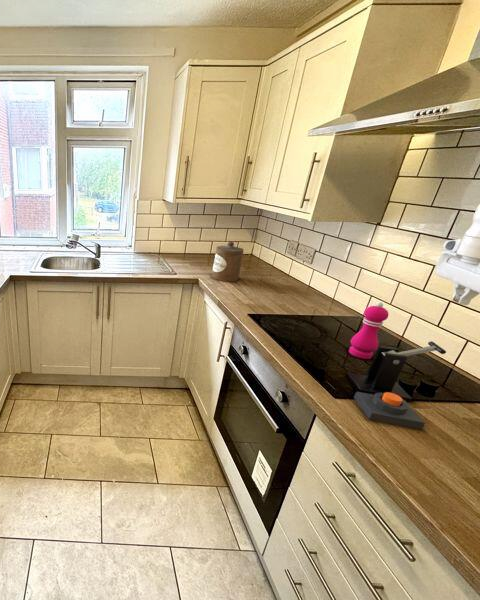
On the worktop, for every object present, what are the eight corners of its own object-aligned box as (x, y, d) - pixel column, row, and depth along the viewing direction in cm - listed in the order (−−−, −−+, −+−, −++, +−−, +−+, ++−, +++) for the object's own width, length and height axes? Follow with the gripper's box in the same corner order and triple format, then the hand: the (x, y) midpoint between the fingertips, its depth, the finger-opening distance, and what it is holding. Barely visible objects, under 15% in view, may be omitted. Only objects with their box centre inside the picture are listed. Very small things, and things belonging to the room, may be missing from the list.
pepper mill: (371, 352, 113) (392, 301, 105) (375, 362, 107) (398, 308, 99) (345, 347, 116) (364, 296, 108) (348, 356, 110) (368, 303, 103)
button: (395, 399, 84) (397, 393, 84) (403, 407, 81) (405, 402, 80) (378, 396, 85) (381, 390, 85) (385, 404, 82) (388, 399, 81)
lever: (434, 346, 88) (432, 339, 87) (447, 355, 83) (445, 347, 83) (380, 356, 93) (378, 349, 93) (390, 365, 89) (387, 358, 88)
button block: (401, 406, 87) (407, 394, 85) (422, 429, 79) (428, 417, 77) (353, 397, 90) (358, 386, 89) (368, 419, 82) (374, 407, 81)
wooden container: (207, 274, 198) (213, 239, 189) (231, 274, 198) (238, 239, 189) (217, 281, 184) (223, 244, 176) (242, 281, 184) (250, 244, 176)
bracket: (392, 383, 96) (409, 346, 92) (410, 402, 89) (430, 363, 84) (346, 375, 100) (359, 340, 95) (359, 393, 92) (375, 355, 87)
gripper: (547, 261, 65) (512, 321, 71) (470, 242, 83) (447, 291, 89) (506, 259, 67) (475, 317, 72) (440, 240, 85) (419, 288, 90)
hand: (459, 302), depth 81 cm, fingers closed
